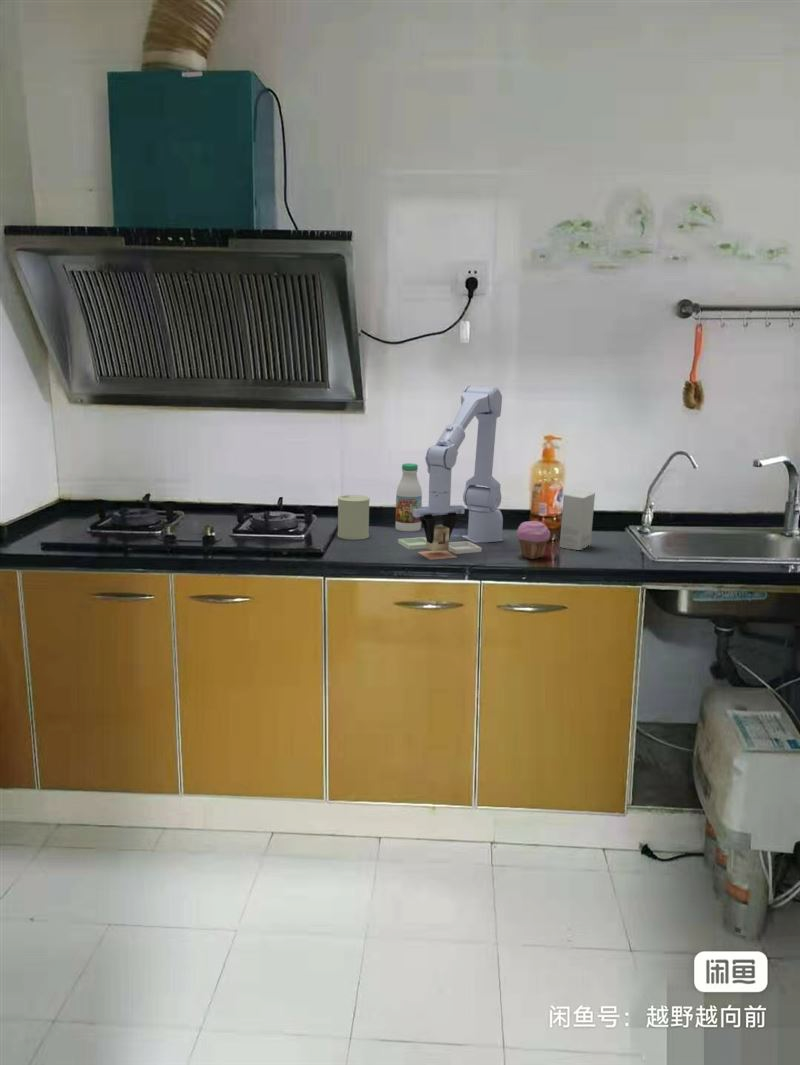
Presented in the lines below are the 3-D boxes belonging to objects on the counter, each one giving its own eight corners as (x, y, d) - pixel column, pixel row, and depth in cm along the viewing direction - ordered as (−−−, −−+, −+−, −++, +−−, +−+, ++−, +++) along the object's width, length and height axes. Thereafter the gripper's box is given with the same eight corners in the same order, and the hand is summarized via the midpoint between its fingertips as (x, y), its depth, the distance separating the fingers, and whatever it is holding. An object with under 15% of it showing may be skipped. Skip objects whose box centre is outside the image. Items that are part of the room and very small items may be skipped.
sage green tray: (423, 542, 246) (424, 537, 246) (435, 548, 239) (435, 543, 238) (397, 544, 243) (398, 539, 242) (409, 550, 236) (409, 545, 235)
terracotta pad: (444, 551, 236) (444, 549, 236) (457, 558, 229) (457, 556, 229) (417, 553, 233) (417, 551, 233) (430, 561, 226) (430, 559, 226)
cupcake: (532, 563, 226) (534, 525, 224) (508, 556, 233) (510, 519, 231) (555, 558, 232) (557, 522, 230) (531, 551, 238) (533, 516, 236)
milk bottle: (394, 527, 264) (395, 462, 260) (419, 527, 265) (421, 462, 261) (396, 532, 257) (398, 466, 252) (422, 532, 258) (424, 466, 253)
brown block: (440, 546, 233) (441, 524, 232) (448, 550, 230) (449, 528, 228) (426, 547, 232) (426, 526, 230) (434, 551, 228) (435, 529, 226)
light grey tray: (468, 546, 243) (468, 541, 242) (481, 553, 235) (481, 547, 235) (442, 548, 239) (442, 543, 239) (455, 555, 232) (455, 549, 232)
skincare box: (571, 542, 250) (574, 489, 246) (592, 546, 246) (596, 492, 243) (558, 548, 243) (562, 493, 240) (580, 552, 239) (584, 496, 236)
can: (347, 532, 256) (348, 492, 254) (374, 536, 252) (375, 495, 249) (331, 538, 248) (331, 497, 246) (359, 542, 244) (359, 500, 241)
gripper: (455, 487, 234) (454, 536, 237) (408, 490, 227) (406, 540, 230) (469, 491, 227) (467, 541, 231) (420, 495, 221) (419, 546, 224)
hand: (438, 541), depth 230 cm, fingers closed on brown block, 4 cm apart
